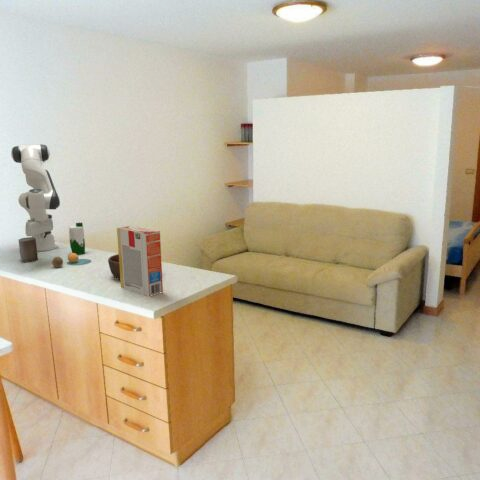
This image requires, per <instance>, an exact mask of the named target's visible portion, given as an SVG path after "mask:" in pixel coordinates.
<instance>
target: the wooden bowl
mask: <svg viewBox="0 0 480 480" xmlns="http://www.w3.org/2000/svg"><path fill="white" fill-rule="evenodd" d="M107 262H108V266H109V270H110V273H111V275H112V276H113V277H114V278H115V279H116V280H120V266H119V253H118V254H113V255H111V256H110V257H108V260H107Z"/></svg>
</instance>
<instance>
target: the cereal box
mask: <svg viewBox="0 0 480 480" xmlns="http://www.w3.org/2000/svg"><path fill="white" fill-rule="evenodd" d="M116 234H117V236H116V237H117V249H118V252H117V253H118V254H119V266H120V279H119V280H120V287H121V288H122V289H125V290H129V291H132V292H134V293H137V294H140V295H143V294H144V295H143V296H146V295H147V296H146V297H148V296H150V297H152V296H151V295H153V296H155V295H154V294H157V293H160V292H163V293H164V290H163V289H164V286H163V268H162V267H163V265H162V248H161V247H162V246H161V244H162V243H161V231H160V230H155V229H151V228H145V227H140V226H134V225H128V226H120V227H116ZM160 294H161V293H160ZM157 295H158V294H157Z"/></svg>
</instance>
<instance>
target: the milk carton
mask: <svg viewBox="0 0 480 480" xmlns="http://www.w3.org/2000/svg"><path fill="white" fill-rule="evenodd" d="M68 228H69V229H68V230H69V231H68V237H69V246H70V251H71V253H75V254H77V255H78V256H79V255H85V254H86V241H85V231H84V225H83V222H76V223H75V225H71V226H69V227H68Z"/></svg>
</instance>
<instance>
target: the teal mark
mask: <svg viewBox="0 0 480 480" xmlns="http://www.w3.org/2000/svg"><path fill="white" fill-rule="evenodd" d="M91 262H92V259H88V258H78V261H77V262H76V263H71V262H69V261H67V262H66V265H68V266H82V265H87V264H90V263H91Z"/></svg>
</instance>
